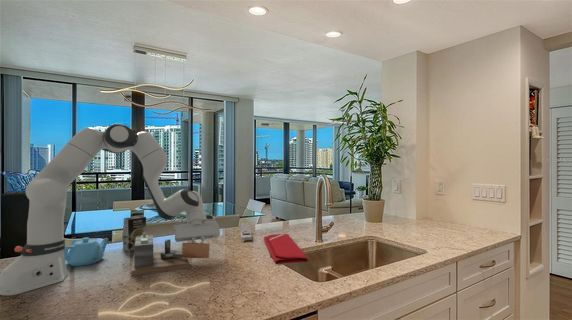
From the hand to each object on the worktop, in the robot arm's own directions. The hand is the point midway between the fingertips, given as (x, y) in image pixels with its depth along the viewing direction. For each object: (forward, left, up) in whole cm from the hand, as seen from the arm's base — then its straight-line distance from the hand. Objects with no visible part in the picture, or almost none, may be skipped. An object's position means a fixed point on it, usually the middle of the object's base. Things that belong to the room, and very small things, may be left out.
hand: (199, 247), depth 135 cm
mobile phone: (+47, +1, -7) cm, 48 cm away
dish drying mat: (+31, -29, -7) cm, 43 cm away
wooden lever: (-2, +6, -4) cm, 7 cm away
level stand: (-8, +15, -7) cm, 18 cm away
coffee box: (+5, +44, -7) cm, 45 cm away
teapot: (-18, +48, -7) cm, 52 cm away
